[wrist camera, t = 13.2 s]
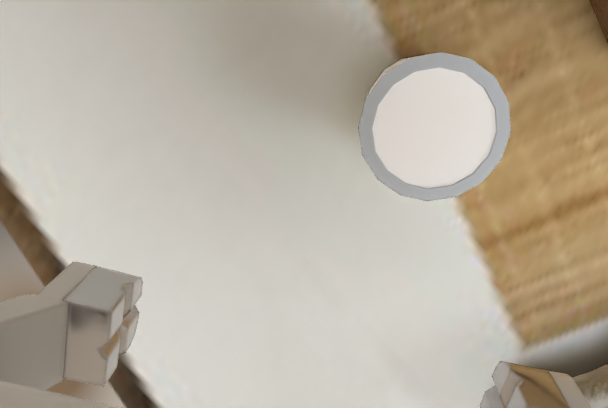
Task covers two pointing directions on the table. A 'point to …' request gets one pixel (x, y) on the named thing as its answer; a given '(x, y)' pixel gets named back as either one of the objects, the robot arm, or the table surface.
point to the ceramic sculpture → (594, 386)
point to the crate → (601, 14)
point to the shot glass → (434, 126)
